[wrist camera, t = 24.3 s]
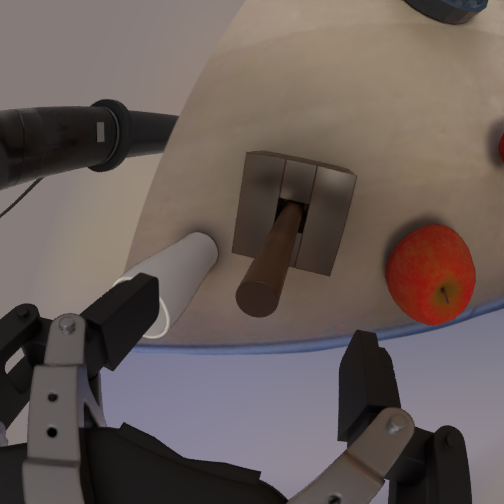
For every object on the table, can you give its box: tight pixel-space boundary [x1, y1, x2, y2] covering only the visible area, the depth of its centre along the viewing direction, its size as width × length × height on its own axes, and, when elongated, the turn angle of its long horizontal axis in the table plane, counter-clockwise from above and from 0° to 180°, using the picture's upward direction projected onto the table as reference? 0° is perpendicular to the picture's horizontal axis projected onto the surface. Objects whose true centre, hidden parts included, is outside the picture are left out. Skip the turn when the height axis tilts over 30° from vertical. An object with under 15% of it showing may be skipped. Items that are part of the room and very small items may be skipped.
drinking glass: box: [112, 232, 218, 338], centre depth 30 cm, size 7×7×15 cm
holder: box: [232, 151, 357, 276], centre depth 28 cm, size 10×10×7 cm
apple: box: [385, 224, 476, 326], centre depth 25 cm, size 11×11×11 cm
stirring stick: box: [236, 200, 305, 317], centre depth 21 cm, size 2×2×22 cm
